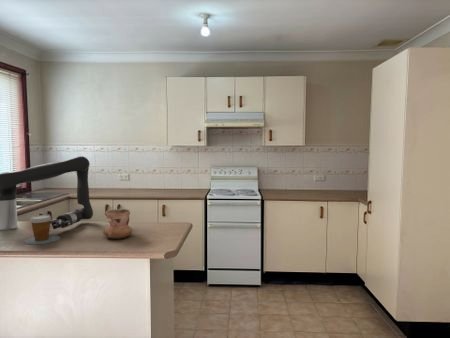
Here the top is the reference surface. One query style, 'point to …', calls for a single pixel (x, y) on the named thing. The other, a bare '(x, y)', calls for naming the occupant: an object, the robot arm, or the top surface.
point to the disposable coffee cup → (41, 227)
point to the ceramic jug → (118, 224)
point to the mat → (33, 242)
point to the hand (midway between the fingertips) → (46, 227)
